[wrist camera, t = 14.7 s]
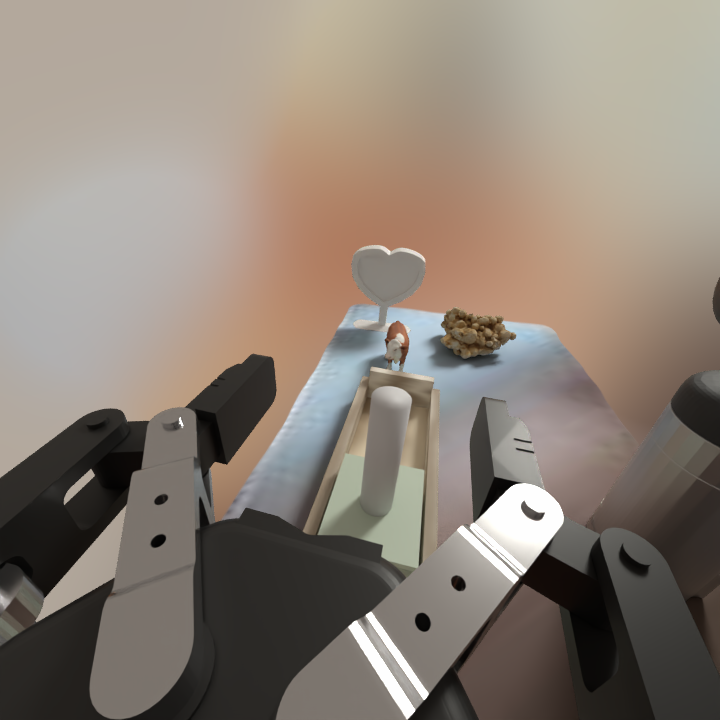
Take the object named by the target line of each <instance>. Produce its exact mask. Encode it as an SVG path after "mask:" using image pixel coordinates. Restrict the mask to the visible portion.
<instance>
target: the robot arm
mask: <svg viewBox="0 0 720 720" xmlns="http://www.w3.org/2000/svg"><path fill="white" fill-rule="evenodd" d="M713 311H714V314H715V317H716V319H717V321H718V322H719V323H720V278H719V280H718V282H717V285H716V288H715V291H714V297H713ZM275 396H276V380H275V369H274V361H273V358H272V357H268V356H262V355H256V354H252V355H250V356H249V357H248V358H247V359H246V360H245V361H244V362H243V363H242V364H236V365H234V366H232V367H230V368H228V369H226V370H225V371H224V372H223V373H222V374H221V375H219V377H218V378H217V379H215V380H214V381H213V382H212V383H211V384H210V386H208V387H207V388H205V389H204V390H203V391H202V392H201V393H200V394H199V395H198V396H197V397H196V398H195V399H193V400H192V401H191V402H190V403H189V404H188V405H187V406H186V407H185V408H172V409H168V410H165V411H163V412H161V413H159V414H157V415H156V416H154V418H152V419H151V420H150V421H132V422H127V420H126V417H125V415H124V413H123V412H122V411H121V410H118V409H102V410H98V411H94V412H92V413H89V414H87V415H85V416H83V417H82V418H80V419H79V420H77V421H76V422H75V423H73V424H72V425H71V426H69V427H68V428H67V429H65V430H64V431H63V432H61V433H60V434H59V435H57V436H56V437H55V438H53V439H52V440H51V441H49V442H48V443H47V444H45V445H44V446H43V447H41V448H40V449H39V450H37V451H36V452H35V453H33V454H32V455H31V456H29V457H28V458H27V459H25V460H24V461H23V462H21V463H20V464H19V465H17V466H16V467H15V468H13V469H12V470H11V471H9V472H8V473H6V474H5V475H4V476H2V477H1V478H0V720H479V719H478V717H477V715H476V712H475V710H474V708H473V706H472V704H471V702H470V700H469V698H468V696H467V694H466V692H465V690H464V688H463V686H462V684H461V682H460V680H459V678H458V675H457V674H458V672H459V671H460V670H461V668H462V667H463V666H464V664H465V663H466V662H467V660H468V659H469V658H470V656H471V655H472V654H473V652H474V651H475V650H476V648H477V647H478V645H479V644H480V643H481V641H482V640H483V638H484V637H485V635H486V634H487V632H488V631H489V630H490V628H491V627H492V626H493V624H494V623H495V621H496V620H497V619H498V618H499V616H500V615H501V614H502V612H503V611H504V610H505V608H506V607H507V606H508V604H509V603H510V602H511V600H512V599H513V598H514V596H515V595H516V594H517V592H518V591H519V590H520V588H521V587H522V586H523V584H525V585H527V586H529V587H530V588H532V589H534V590H535V591H537V592H539V593H540V594H542V595H544V596H545V597H547V598H549V599H550V600H552V601H554V602H555V603H557V604H559V607H560V613H561V618H562V624H563V630H564V635H565V641H566V647H567V653H568V658H569V664H570V670H571V675H572V681H573V687H574V692H575V698H576V704H577V709H578V715H579V720H720V676H719V673H718V671H717V669H716V667H715V665H714V663H713V661H712V658H711V656H710V654H709V652H708V650H707V648H706V645H705V643H704V641H703V639H702V637H701V635H700V632H699V630H698V628H697V626H696V624H695V622H694V619H693V617H692V615H691V613H690V611H689V609H688V607H687V604H686V602H685V601H687V600H688V599H689V598H690V597H692V596H695V597H700V598H704V597H705V596H707V595H708V594H709V593H710V592H711V591H713V590H714V589H715V588H716V587H717V586H719V585H720V370H713V371H704V372H700V373H697V374H694V375H692V376H690V377H689V378H688V379H687V380H685V382H684V383H683V384H682V385H681V386H680V388H679V389H678V391H677V392H676V394H675V395H674V396H673V398H672V400H671V401H670V403H669V404H668V405H667V407H666V408H665V410H664V411H663V413H662V414H661V416H660V417H659V419H658V420H657V422H656V423H655V424H654V426H653V428H652V429H651V430H650V432H649V433H648V435H647V436H646V438H645V439H644V441H643V442H642V444H641V445H640V446H639V448H638V449H637V451H636V452H635V454H634V455H633V457H632V458H631V460H630V461H629V462H628V464H627V465H626V467H625V468H624V470H623V471H622V473H621V474H620V476H619V477H618V478H617V480H616V481H615V483H614V484H613V486H612V487H611V489H610V490H609V492H608V493H607V495H606V496H605V497H604V499H603V500H602V502H601V503H600V505H599V506H598V508H597V509H596V510H595V512H594V513H593V515H592V516H591V518H590V519H589V521H588V522H587V525H586V527H584V526H582V525H580V524H578V523H576V522H574V521H572V520H570V519H569V518H567V517H566V516H564V515H563V513H562V510H561V508H560V506H559V505H558V503H557V502H556V501H555V499H554V498H553V497H551V496H550V495H549V494H548V493H547V492H545V489H544V485H543V481H542V478H541V474H540V470H539V466H538V463H537V459H536V455H535V454H534V448H533V444H532V440H531V437H530V433H529V430H528V428H527V427H526V426H525V425H524V423H523V422H522V421H521V420H520V418H515V417H510V416H509V413H508V408H507V404H506V401H503V400H497V399H492V398H486V397H483V398H482V400H481V402H480V406H479V409H478V412H477V415H476V418H475V421H474V424H473V428H472V431H471V437H470V461H471V481H472V501H473V521H474V524H472V525H471V526H468V525H467V524H465V525H463V526H461V527H460V528H459V529H458V530H457V531H456V532H455V533H454V534H453V535H451V536H450V537H449V538H448V539H447V540H446V541H445V542H444V543H443V544H442V545H441V546H440V547H439V548H438V549H437V550H436V551H435V552H433V553H432V554H431V555H430V556H429V557H428V558H427V559H426V560H425V561H424V562H423V563H422V564H421V565H420V566H419V567H418V568H417V569H415V570H414V571H413V572H412V573H411V574H410V575H409V576H408V577H407V578H406V576H405V575H404V574H403V573H402V572H401V571H400V570H399V569H398V568H397V567H396V566H394V565H393V564H392V563H390V562H389V561H388V560H386V559H384V558H383V557H381V555H382V549H383V545H381V544H377V543H374V542H370V541H366V540H363V539H359V538H355V537H352V536H348V535H309V534H306V533H304V532H303V531H301V530H299V529H298V528H296V527H294V526H293V525H291V524H289V523H288V522H286V521H285V520H283V519H281V518H280V517H278V516H275V515H271V514H267V513H264V512H260V511H256V510H253V509H249V508H245V510H244V511H243V513H242V515H241V516H240V518H235V519H227V520H223V521H219V522H215V517H214V506H213V493H212V478H211V470H210V467H211V466H212V464H213V463H214V462H219V463H222V464H226V465H227V464H228V462H229V461H230V460H231V459H232V457H233V456H234V455H235V453H236V452H237V451H238V449H239V448H240V447H241V445H242V444H243V443H244V441H245V440H246V439H247V437H248V436H249V435H250V433H251V432H252V430H253V429H254V428H255V426H256V425H257V424H258V422H259V421H260V420H261V418H262V417H263V416H264V414H265V413H266V411H267V410H268V409H269V408H270V406H271V405H272V403H273V402H274V399H275ZM90 469H92V471H93V472H94V474H95V477H94V478H93V479H91V480H90V481H89V482H88V483H87V484H86V485H85V486H84V487H83V488H82V489H81V490H80V491H79V492H78V493H77V494H76V495H75V496H74V497H73V498H71V499H70V501H68V502H67V503H66V504H65V505H64V497H65V495H66V493H67V491H68V490H69V489H70V487H71V486H73V485H74V484H75V483H76V482H77V481H78V480H79V479H80V478H81V477H82V476H84V474H86V473H87V472H88V471H89V470H90ZM126 504H127V507H126V513H125V519H124V526H123V532H122V538H121V544H120V550H119V557H118V562H117V568H116V575H115V578H113V579H112V580H110V581H108V582H106V583H105V584H103V585H101V586H99V587H98V588H96V589H95V590H92V591H91V592H89V593H87V594H85V595H84V596H82V597H80V598H79V599H77V600H75V601H73V602H72V603H70V604H68V605H66V606H65V607H63V608H61V609H60V610H58V611H56V612H54V613H53V614H51V615H49V616H47V617H45V618H44V619H42V620H40V621H39V622H37V623H36V621H35V620H36V618H37V617H38V615H39V613H40V611H41V609H42V607H43V602H44V598H45V597H46V596H47V595H48V594H49V592H50V591H51V590H52V589H53V588H54V587H55V586H56V584H57V583H58V582H59V581H60V580H61V579H62V578H63V576H64V575H65V574H66V573H67V572H68V571H69V570H70V568H71V567H72V566H73V565H74V564H75V563H76V561H77V560H78V559H79V558H80V557H81V556H82V555H83V554H84V552H85V551H86V550H87V549H88V548H89V547H90V545H91V544H92V543H93V542H94V541H95V540H96V539H97V538H98V536H99V535H100V534H101V533H102V532H103V531H104V530H105V528H106V527H107V526H108V525H109V524H110V523H111V522H112V520H113V519H114V518H115V517H116V516H117V515H118V514H119V512H120V511H121V510H122V509H123V508H124V507H125V506H126Z"/></svg>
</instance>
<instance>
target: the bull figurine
mask: <svg viewBox="0 0 720 720" xmlns="http://www.w3.org/2000/svg"><path fill="white" fill-rule="evenodd" d="M385 342H386V347H387V353H386V354H385V359H387V360H388V363H389V364H388V366H387V368H386V369H388V370H391V367H392V360H394V363H395V364H396V363H397V362H398V361H400V364H399V366H400V369H399V372H403V367H404V362H405V359H406V355H407V353H408V349H409V338H408V335H407V332H406V328H405V326H404V325H403V324H402V323H400V322H399V321H396V322H395V323H392V324H391V325H390V327H389V328H388V332H387V338H386V339H385Z"/></svg>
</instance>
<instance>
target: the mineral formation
mask: <svg viewBox="0 0 720 720" xmlns="http://www.w3.org/2000/svg"><path fill="white" fill-rule="evenodd" d="M466 314H467V312H466V311H465V310H461V309H460V308H458V307H454V308H453V309H452V310H448V311H447V312H446V315H444V321H443V322H442V323H441V326H442V328H445V331H446V333H447V335H445V336H444V337H443V338H441V339H440V341H441V343H443V344H445V346H446V347H447V348H449V349H450V348H451V349H453V352H454V354H455V355H457V356H458V355H461V357H462V358H464V359H466V358H469V357H472V356H473V357H474V356H477V355H487V354H489V353H493V351H494V350H497V349H500V346H501V344H502V345H504V344H505V343H507V341H508V340H509V339H511V340H514V339H515V338H516V334H515V333H510V332H509V331H507V330H505V326H504V325H503V324H501V323H502V321H503V317H501V316H496V317H492V316H490V315H486V316H484V317H481V316H479V315H476V316H474V315H473V314H469V315H466Z"/></svg>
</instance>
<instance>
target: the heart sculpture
mask: <svg viewBox="0 0 720 720" xmlns="http://www.w3.org/2000/svg"><path fill="white" fill-rule="evenodd" d="M352 275H353V278H354V280H355V282H356V284H357V286H358V287H359V289H360V290H361V291H362V292H363V293H364V294H365V295H366V296H367V297H368V298H369V299H371V300H372V301H374V302H375V303H376V304H378V305H379V306H380V312H379V321H378V322H375V321H368V320H357V321H355V322H354V323H353V325H354V326H355V328H359V329H366V330H374V331H382V332H388V328H389V327H390V325H391V323H386V318H387V310H388V307H389V306H391V305H393V304H396V303H399V302H401V301H403V300H404V299H406V298H408V297H409V296H411V295H412V294H413V293H414V292H415V291H416V290H417V289H418V288H419V286H420V285H421V284H422V280H423V278H424V275H425V259H424V257H423V256H422V255H421V254H419V253H417V252H415V251H413V250H410V249H407V248H398V249H395V250H393V251H389V250H388V249H387V248H386V247H384V246H381V245H373V246H366V247H362V248H360V249H359V250H358V251H356V252H355V254H354V255H353V260H352ZM404 326H405V325H404ZM405 328H406V332H407V334H408V333H409V332H410V331H411V330H410V329H409V327H407V326H405Z"/></svg>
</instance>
